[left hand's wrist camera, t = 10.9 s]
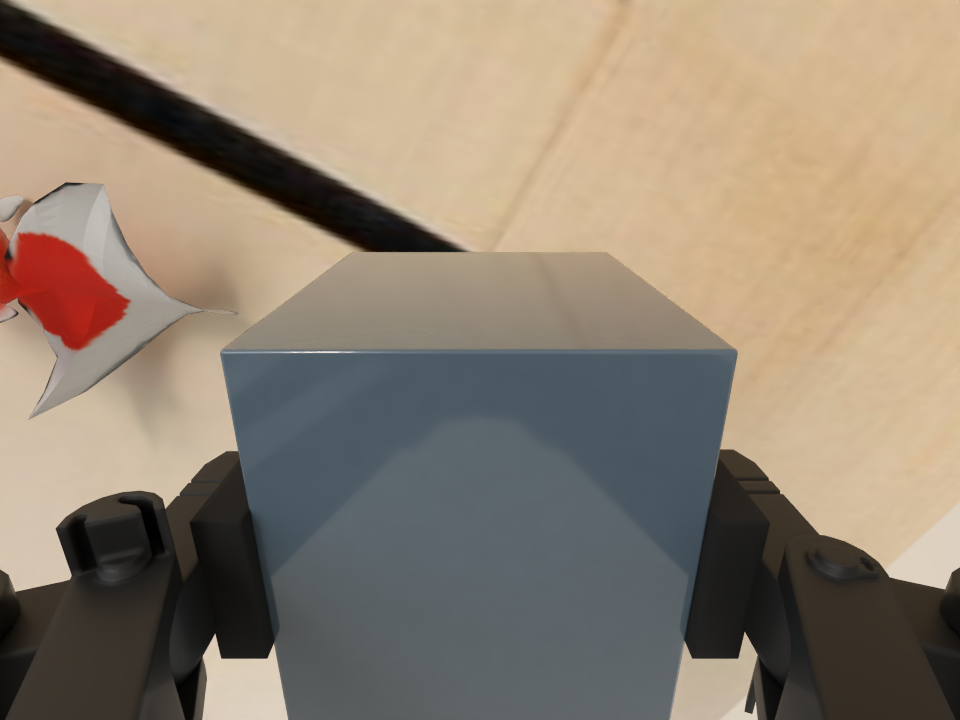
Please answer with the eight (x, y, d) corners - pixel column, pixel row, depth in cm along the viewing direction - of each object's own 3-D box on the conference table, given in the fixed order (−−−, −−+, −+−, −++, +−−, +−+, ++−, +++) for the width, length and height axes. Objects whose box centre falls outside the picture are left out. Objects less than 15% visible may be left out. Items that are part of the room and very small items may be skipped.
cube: (608, 252, 14) (739, 350, 7) (587, 498, 17) (666, 750, 10) (350, 251, 14) (218, 350, 7) (372, 498, 17) (292, 750, 10)
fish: (-163, -25, 18) (-419, 124, 12) (280, 196, 27) (259, 344, 21) (-157, 197, 24) (-328, 372, 18) (206, 318, 33) (173, 462, 27)
